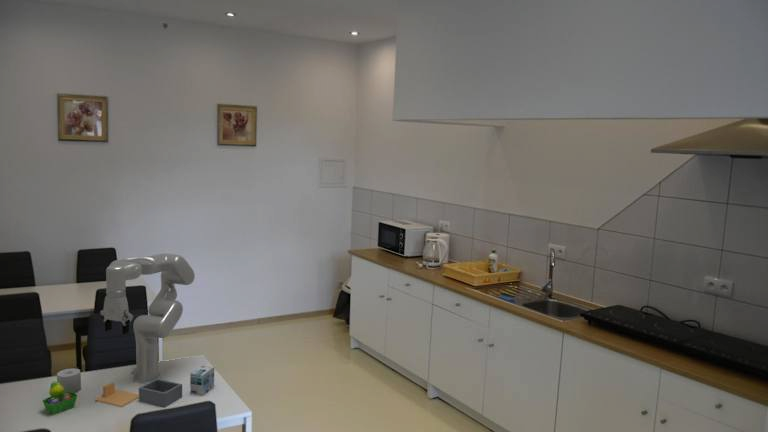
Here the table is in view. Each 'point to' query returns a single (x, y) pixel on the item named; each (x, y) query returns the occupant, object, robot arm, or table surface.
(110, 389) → the lid
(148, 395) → the tub
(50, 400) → the fruit basket
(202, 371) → the light bulb box
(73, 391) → the toilet tissue
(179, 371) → the table surface
